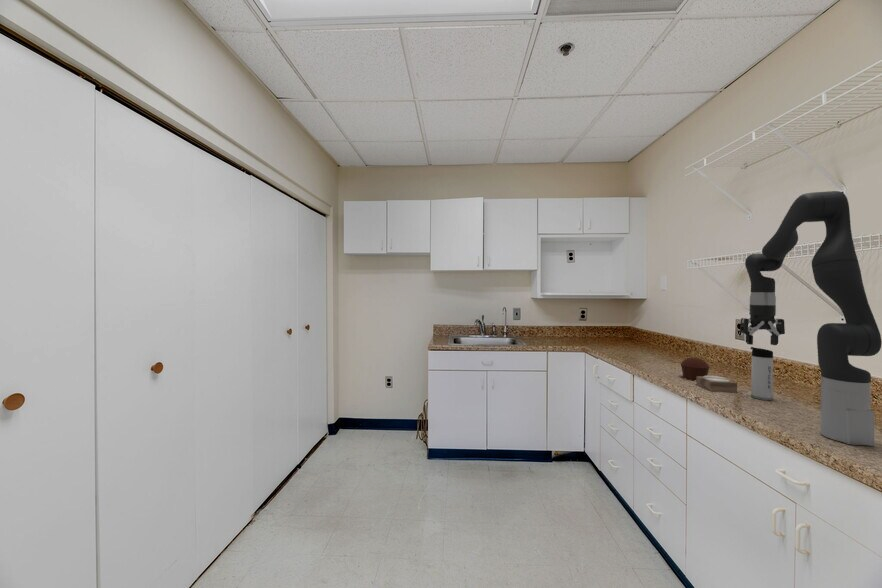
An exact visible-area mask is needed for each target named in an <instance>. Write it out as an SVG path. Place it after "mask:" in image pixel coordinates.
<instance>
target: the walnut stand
mask: <svg viewBox="0 0 882 588" xmlns="http://www.w3.org/2000/svg"><path fill="white" fill-rule="evenodd" d="M695 385H696V386H698V387H699V388H702V389H705V390H706V391H709V392H715V393H718V392H719V393H738V382H735V381H732V380H730V378H726V377H723V376H717V375H707V376H696V384H695Z"/></svg>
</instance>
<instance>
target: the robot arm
mask: <svg viewBox="0 0 882 588" xmlns="http://www.w3.org/2000/svg"><path fill="white" fill-rule="evenodd" d="M850 213H851V211H850V204H849V200H848V197H847V196H846V194H845V193H844V192H842V191H840V190H828V191H816V192H807V193H803V194H800V195H799V196H798V197H796V199H795V200H794V201H793V202H792V204H791V205H790V207H789V209H788V210H787V212H786V214H785V215H784V218H783V219H782V221H781V222H780V225H779V227H778V229H777V230H776V232H775V233H774V234H773V235H772V236H771V238H770V239H769V240H768V241H767V243H766V244H764V245H763V247H762V249H761V253H752V254H750V255H748V256H747V257H746V259H745V263H744V265H745V269H746V272H747V274H748V277H749V281H750V296H749V316H750V317H749V318H746V317H745V318H744V317H742V318H740V326H739V328H740V329H739V332H740V333H741V334H743V335H745V343H746V344H747V345H751V346H752V345H754V334H755V332H758V331H759V330H761V331H762V330H766V331H768V332H769V333H770V334H771V335H770V345H772V346H777V345H778V344H779V336H780V335H785V333H786V332H785V330H786V326H785V319H783V318H775V316H776V314H777V313H776V310H777V303H776V302H777V298H776V280H775V278H773V277H770V276H769V277H768V276H764V275H763V274H762V273H761V272H775V271H777V270H780V268H781V267H782V266H783V263H784V260H785V258H786V255H788V254H789V253H790V252H791V251H792V250H793V249H794V248H795V246H796V245H797V244H798V241H799V234H798V231H797V229H798V228H799V226H801V225H802V224H804V223H817V222H823V223H824V225H825V237H824V240H823V242H822V243H821V245H820V247H819V248H818V250H817V251H816V252H815V254H814V256H813V257H812V259H811V269H812V274H813V279H814V282H815V283H816V285H817V287H818V288H819V289H820V290H821V291H822V292H823V293H824V294H825V295H826V296H827V297H829V299H831V300H832V301H833V303H835V304H836V305H837V307H839V309H840V310H841V312H842V313H841V314H842V315H843V317H844V321H845V322H844V323H843V322H842V323H841V322H840V323H837V322H832V323H831V322H829V323H825V324H822V325H821V326H820V328H819V329H818V331H817V335H816V345H817V347H816V348H817V359H818V360H817V361H818V363H817V364H818V367H819V369H820V412H819V413H820V424H819V425H820V426H819V428H820V429H819V433H820V435H822V436H824V437H825V438H828V439H831V440H834V441H837V442H842V443H844V444H848V445H854V446H870V447H873V446H875V411H874V410H871V393H872V392H871V391H872V390H871V389H872V386H871V384H872V375H871V373H870V371H868V370H866V369H863V368H860V367H856V366H854V365H853V364H851V363H850V362H849V356H852V357H872V356H875V355H877V354H878V353H879V352H880V351H881V348H882V335H881V332H880V330H879V327H878V324H877V321H876V319H875V316H874V314H873V312H872V309H871V307H870V304H869V301H868V300H869V299H868V297H867V294H866V291H865V290H866V289H865V286H864V283H863V277H862V273H861V272H862V271H861V268H860V263H859V260H858V256H857V253H856V249H855V243H854V239H853V234H852V226H851V214H850ZM774 324H775V325H774Z"/></svg>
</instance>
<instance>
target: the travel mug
mask: <svg viewBox="0 0 882 588" xmlns="http://www.w3.org/2000/svg"><path fill="white" fill-rule="evenodd" d="M750 350H751V364H750V366H751V369H750V370H751V371H750V372H751V375H750V376H751V378H750V379H751V380H750V381H751V384H750V388H751V389H750V392H751V394H750V396H751V398H753V399H755V398H756V399H755V400H759V399H761V400H760V401H766V400H771V401H773V400H774V396H773V394H774V352H773V351H772V350H770V349H766V348H759V347H754V346H751V347H750Z"/></svg>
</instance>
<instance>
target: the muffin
mask: <svg viewBox="0 0 882 588" xmlns="http://www.w3.org/2000/svg"><path fill="white" fill-rule="evenodd" d="M680 367H681V372H682V377H683V378H684V379H685V378H686V379H685V380H688V379H690V380H689V381H694V380H696V376H709V375H708V374H709V370H710V366H709V364H708V363H707V361H705V360H703V359H701V358H698V357H688V358H686V359H684V360H682V362H681V363H680Z"/></svg>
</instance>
